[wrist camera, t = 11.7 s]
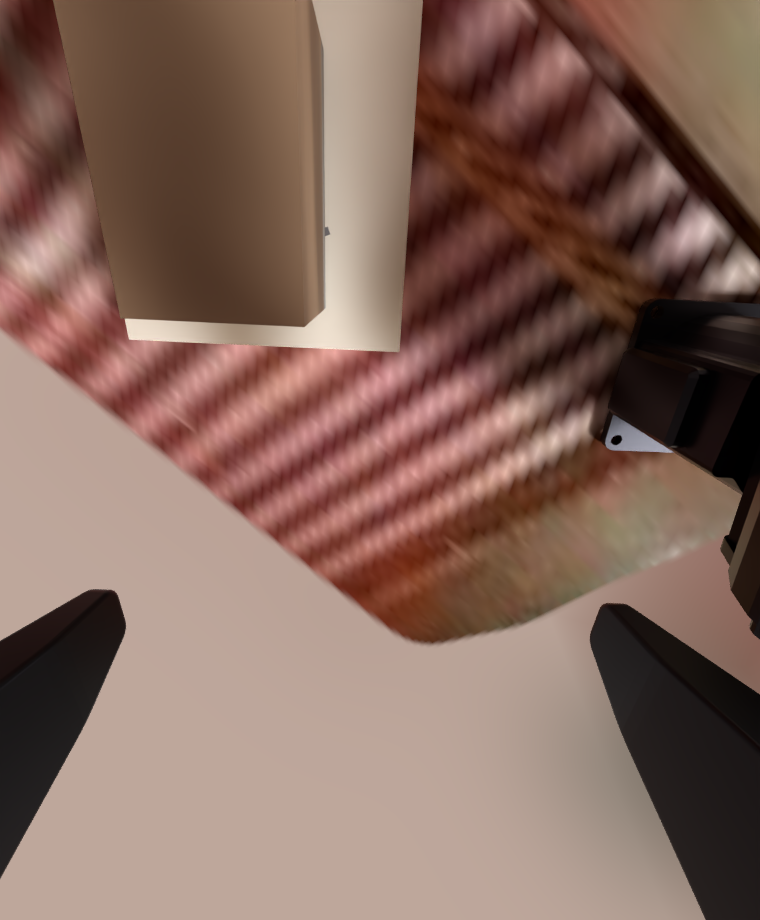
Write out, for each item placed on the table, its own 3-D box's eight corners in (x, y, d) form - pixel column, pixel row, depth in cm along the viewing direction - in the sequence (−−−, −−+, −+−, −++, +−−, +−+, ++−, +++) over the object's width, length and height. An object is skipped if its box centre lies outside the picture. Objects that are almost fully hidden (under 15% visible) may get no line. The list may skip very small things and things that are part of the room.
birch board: (417, 19, 13) (424, -21, 11) (396, 342, 17) (399, 352, 15) (94, -5, 13) (47, -50, 11) (155, 331, 17) (128, 339, 15)
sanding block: (323, 49, 12) (292, -87, 7) (325, 308, 15) (304, 327, 10) (164, 37, 12) (30, -107, 7) (198, 301, 15) (120, 318, 10)
